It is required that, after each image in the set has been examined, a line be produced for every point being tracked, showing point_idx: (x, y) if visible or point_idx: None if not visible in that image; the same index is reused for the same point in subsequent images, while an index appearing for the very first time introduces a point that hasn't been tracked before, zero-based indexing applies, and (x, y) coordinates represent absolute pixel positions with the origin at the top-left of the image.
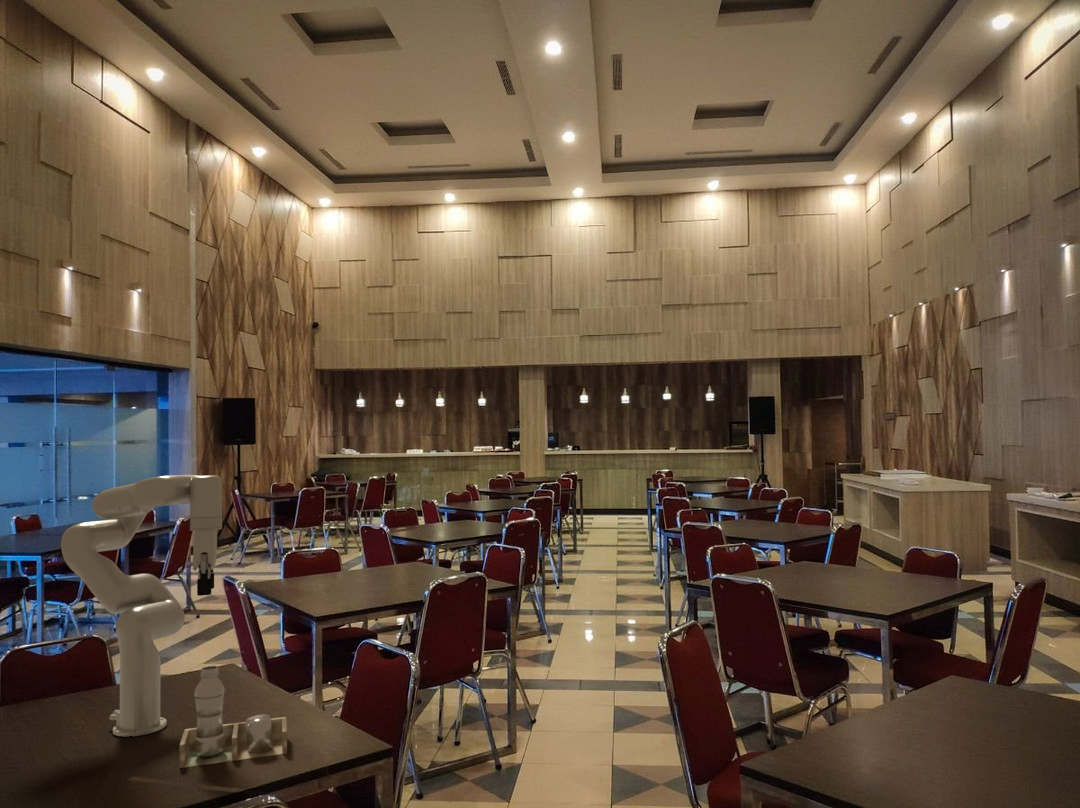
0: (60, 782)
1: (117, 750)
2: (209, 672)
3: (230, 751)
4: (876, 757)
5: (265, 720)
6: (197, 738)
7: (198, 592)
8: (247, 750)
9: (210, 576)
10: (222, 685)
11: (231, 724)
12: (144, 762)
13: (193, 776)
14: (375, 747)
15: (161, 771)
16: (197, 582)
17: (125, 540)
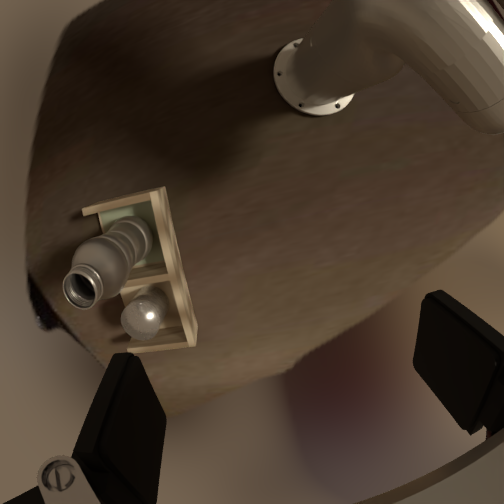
0: (97, 49)
1: (210, 69)
2: (67, 291)
3: (146, 262)
4: None
5: (132, 334)
6: (111, 227)
7: (111, 371)
8: (150, 285)
9: (461, 405)
10: (99, 299)
11: (168, 269)
12: (142, 133)
13: (80, 228)
14: None
15: (101, 174)
16: (83, 428)
17: None
